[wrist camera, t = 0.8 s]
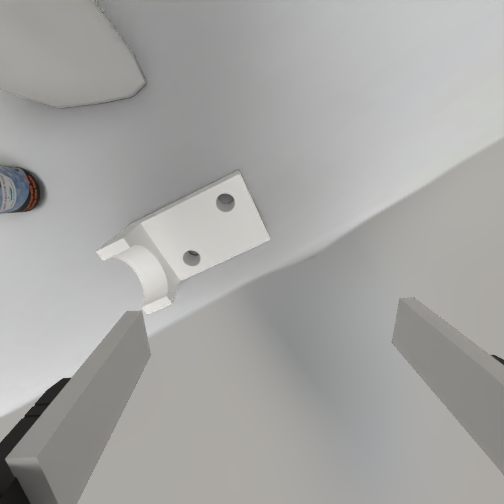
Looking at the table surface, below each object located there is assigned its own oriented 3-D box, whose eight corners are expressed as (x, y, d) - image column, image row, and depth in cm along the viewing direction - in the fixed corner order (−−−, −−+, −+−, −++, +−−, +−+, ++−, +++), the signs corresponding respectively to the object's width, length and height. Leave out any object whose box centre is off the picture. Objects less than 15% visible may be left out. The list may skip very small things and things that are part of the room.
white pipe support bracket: (167, 274, 41) (147, 314, 31) (131, 223, 37) (95, 251, 27) (266, 228, 39) (277, 256, 29) (238, 169, 35) (241, 179, 25)
